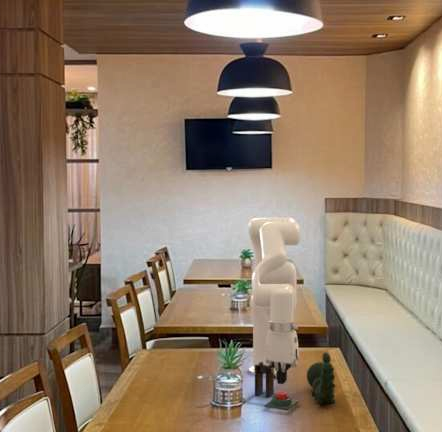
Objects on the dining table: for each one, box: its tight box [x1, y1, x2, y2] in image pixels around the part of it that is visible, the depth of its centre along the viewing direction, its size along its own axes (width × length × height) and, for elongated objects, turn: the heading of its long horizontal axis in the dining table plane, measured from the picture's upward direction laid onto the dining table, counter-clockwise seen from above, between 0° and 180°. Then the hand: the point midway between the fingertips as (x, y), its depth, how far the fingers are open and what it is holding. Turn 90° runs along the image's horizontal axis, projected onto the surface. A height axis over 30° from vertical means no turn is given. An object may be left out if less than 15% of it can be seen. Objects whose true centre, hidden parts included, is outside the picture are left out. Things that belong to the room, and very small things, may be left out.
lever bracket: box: [254, 362, 275, 399], centre depth 223 cm, size 12×9×12 cm
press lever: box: [259, 365, 277, 381], centre depth 227 cm, size 12×5×2 cm, turn 155°
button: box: [276, 391, 288, 400], centre depth 214 cm, size 3×3×2 cm
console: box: [264, 394, 299, 411], centre depth 214 cm, size 9×8×4 cm
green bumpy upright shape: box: [306, 352, 336, 406], centre depth 223 cm, size 9×19×25 cm
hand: (281, 382), depth 214 cm, fingers closed
